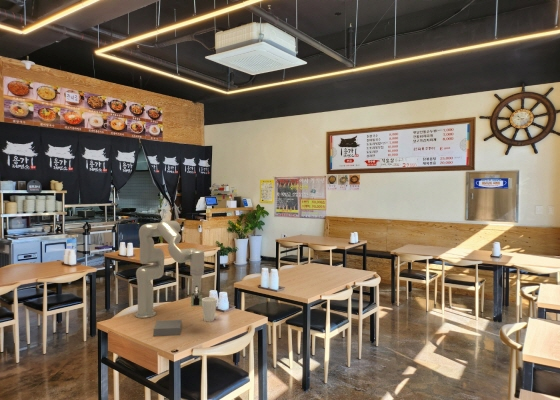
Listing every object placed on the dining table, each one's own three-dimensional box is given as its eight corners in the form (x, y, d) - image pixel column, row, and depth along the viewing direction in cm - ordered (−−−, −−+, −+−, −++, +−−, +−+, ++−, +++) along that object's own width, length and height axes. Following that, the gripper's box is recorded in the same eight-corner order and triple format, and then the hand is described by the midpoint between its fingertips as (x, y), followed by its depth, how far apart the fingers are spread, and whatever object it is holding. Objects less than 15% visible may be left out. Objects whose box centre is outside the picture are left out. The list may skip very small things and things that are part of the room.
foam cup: (219, 319, 247) (220, 298, 247) (209, 323, 240) (209, 302, 239) (208, 316, 253) (209, 296, 252) (198, 320, 245) (198, 299, 245)
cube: (191, 303, 229) (191, 293, 228) (201, 303, 230) (202, 292, 229) (190, 306, 223) (191, 295, 222) (201, 306, 224) (201, 295, 224)
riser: (156, 327, 231) (156, 320, 231) (181, 326, 233) (181, 319, 233) (153, 336, 217) (153, 329, 217) (179, 334, 220) (179, 327, 220)
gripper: (191, 269, 233) (190, 299, 234) (189, 275, 216) (189, 308, 217) (204, 268, 235) (203, 299, 235) (203, 275, 218) (203, 307, 218)
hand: (196, 303), depth 226 cm, fingers closed on cube, 6 cm apart
